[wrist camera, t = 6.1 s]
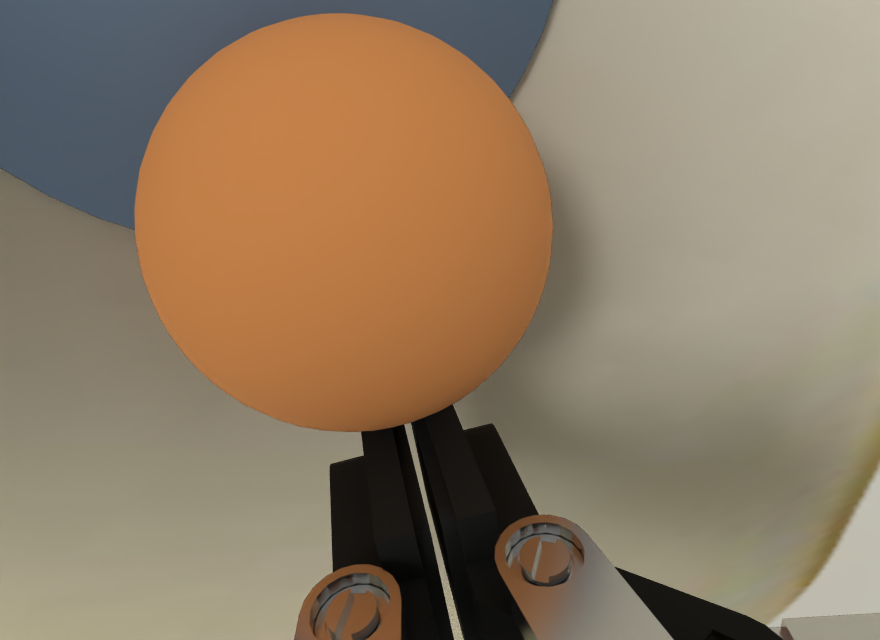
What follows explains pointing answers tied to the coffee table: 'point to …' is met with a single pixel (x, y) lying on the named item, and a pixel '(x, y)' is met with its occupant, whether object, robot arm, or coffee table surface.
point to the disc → (176, 74)
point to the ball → (343, 222)
